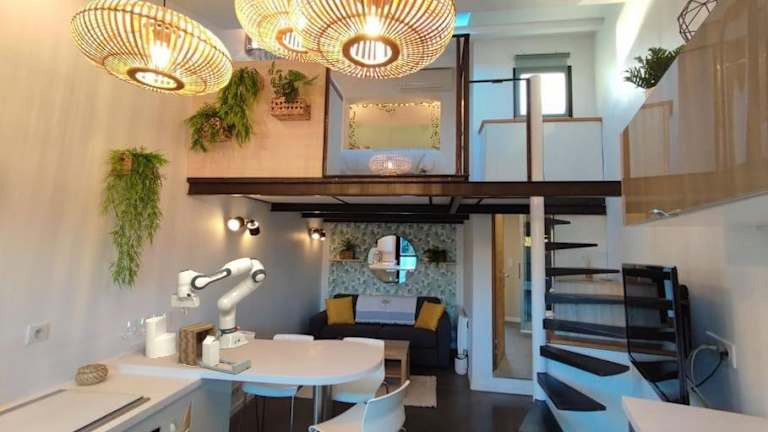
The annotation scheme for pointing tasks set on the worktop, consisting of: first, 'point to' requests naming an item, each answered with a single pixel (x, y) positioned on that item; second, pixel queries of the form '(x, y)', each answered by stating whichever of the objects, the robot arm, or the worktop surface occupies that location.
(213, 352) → the milk carton
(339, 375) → the worktop surface
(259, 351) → the worktop surface
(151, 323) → the white stepped block
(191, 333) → the shelf cubby
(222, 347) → the robot arm
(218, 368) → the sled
